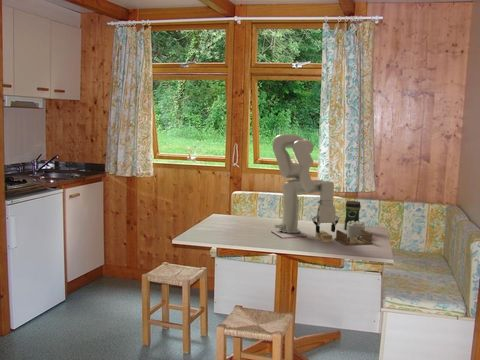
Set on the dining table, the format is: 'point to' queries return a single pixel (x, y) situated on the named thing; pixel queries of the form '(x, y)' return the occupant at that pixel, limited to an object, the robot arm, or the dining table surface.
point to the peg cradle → (360, 240)
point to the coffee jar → (352, 212)
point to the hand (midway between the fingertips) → (325, 232)
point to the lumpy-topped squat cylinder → (354, 228)
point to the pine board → (324, 236)
